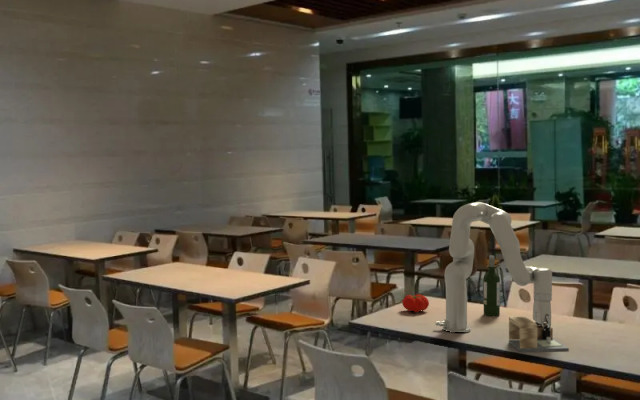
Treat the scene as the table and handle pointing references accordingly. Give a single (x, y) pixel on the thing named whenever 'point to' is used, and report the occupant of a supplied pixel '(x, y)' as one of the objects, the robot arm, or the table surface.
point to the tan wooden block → (523, 331)
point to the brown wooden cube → (539, 332)
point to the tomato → (415, 302)
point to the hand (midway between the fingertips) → (542, 336)
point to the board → (541, 345)
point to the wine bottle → (491, 290)
